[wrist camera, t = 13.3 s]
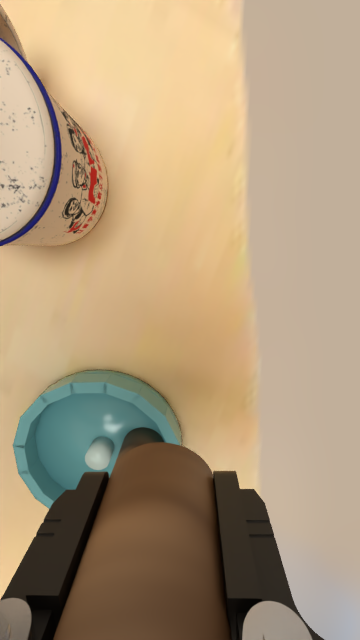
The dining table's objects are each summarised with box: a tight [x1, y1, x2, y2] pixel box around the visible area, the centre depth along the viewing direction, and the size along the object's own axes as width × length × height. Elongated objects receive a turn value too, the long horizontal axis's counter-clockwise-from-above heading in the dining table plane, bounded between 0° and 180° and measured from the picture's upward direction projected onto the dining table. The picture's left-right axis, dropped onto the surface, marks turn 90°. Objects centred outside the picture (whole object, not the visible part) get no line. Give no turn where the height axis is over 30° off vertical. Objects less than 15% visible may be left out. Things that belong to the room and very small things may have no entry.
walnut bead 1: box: [114, 427, 164, 466], centre depth 23 cm, size 4×4×5 cm
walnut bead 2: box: [53, 442, 232, 640], centre depth 7 cm, size 4×4×5 cm
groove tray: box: [13, 370, 182, 509], centre depth 25 cm, size 14×14×2 cm
